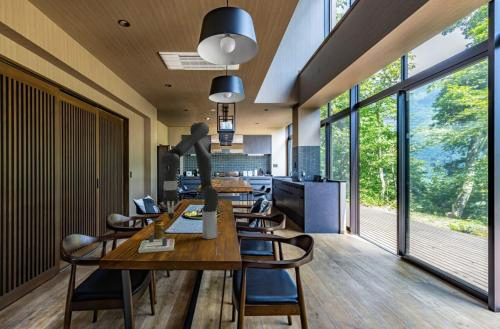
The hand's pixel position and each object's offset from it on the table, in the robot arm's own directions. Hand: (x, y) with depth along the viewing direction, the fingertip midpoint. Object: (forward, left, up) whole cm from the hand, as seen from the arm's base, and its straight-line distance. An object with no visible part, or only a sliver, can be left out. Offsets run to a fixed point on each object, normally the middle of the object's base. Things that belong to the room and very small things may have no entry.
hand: (171, 219), depth 146 cm
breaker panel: (+7, -4, -16) cm, 18 cm away
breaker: (+11, -9, -14) cm, 20 cm away
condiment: (+9, -24, -17) cm, 31 cm away
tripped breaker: (+3, 0, -14) cm, 15 cm away
